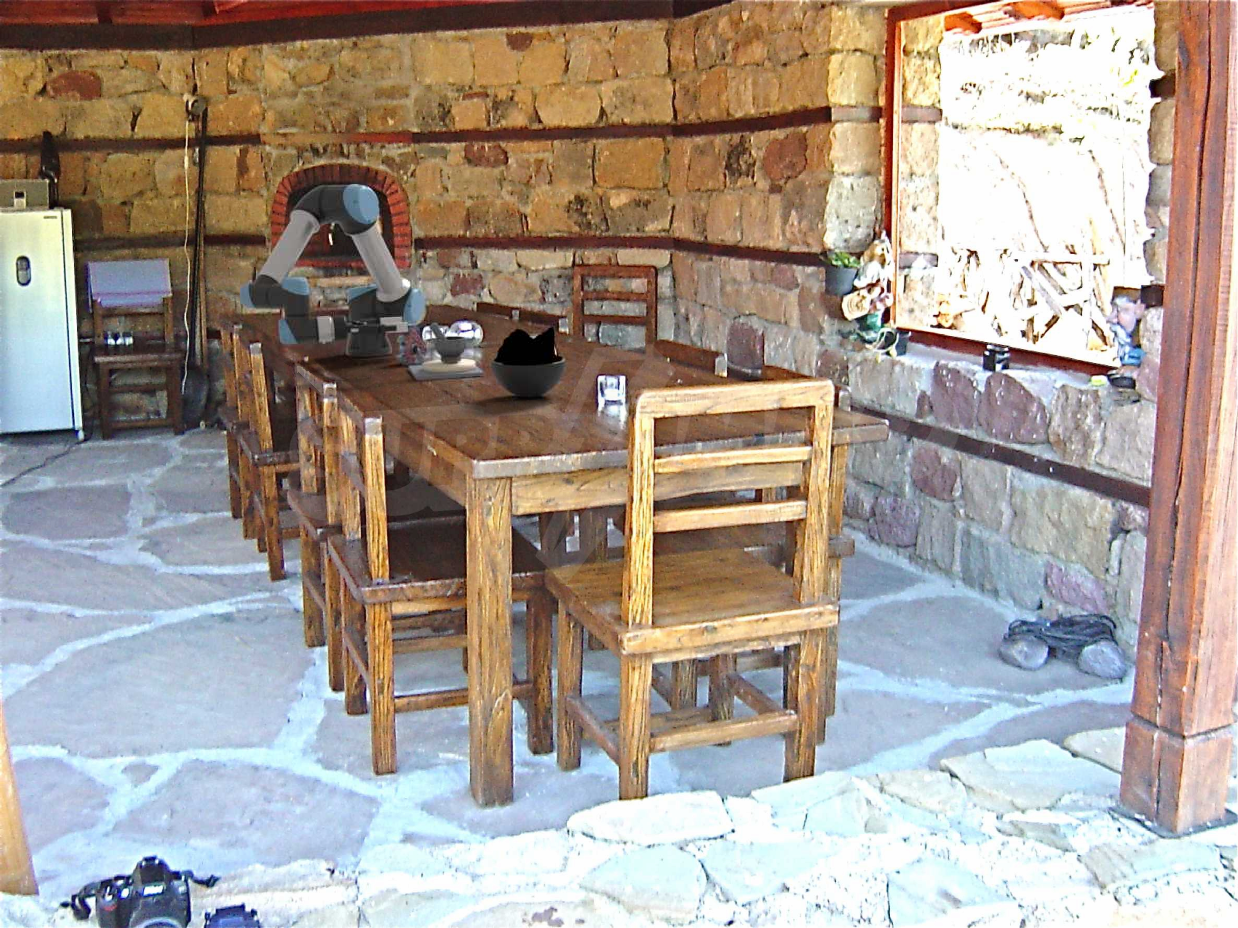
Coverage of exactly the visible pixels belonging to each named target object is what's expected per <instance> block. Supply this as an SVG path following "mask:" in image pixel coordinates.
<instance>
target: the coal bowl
mask: <svg viewBox="0 0 1238 928" xmlns="http://www.w3.org/2000/svg"><path fill="white" fill-rule="evenodd" d="M509 333H510V334H508V336H507V337H505V338H504V339H503V342H502V345H501V346H500V347H499V348H498V349H497V354H496V358H494V359H493V360H491V362H490V363H491V369H492V372H493V375H494V377H495V379H496V381H497V382H498V383H499V385H500V386H501V387H502V388H503V389H505V390H506V391H507V392H508V393H510V394H513V395H515V396H517V397H520V398H521V397H522V398H536V396H537V397H540V396H543V395H544V394H546V393H547V394H548V393H549V392H551V390H553V389H554V388H555V387H556V386H557V385H558V383H559V382H560V380H561V378H562V377H563V375H564V372H565V368H566V361H567V360H566V358H564V357H563V356H560V355H557V354H556V349H555V348H556V347H555V341H556V340H555V337H556V336H555V335H556V334H555V328H554V327H553V326H550V327H548V328H547V330H545V331H542V332H541V333H538V334H537V335H535V336H534V338H533V337H532V336H531V335H530V334H529V333H528V332H526V330H524V329H521V328H516V329H515V330H514V331H512V332H509Z"/></svg>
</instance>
